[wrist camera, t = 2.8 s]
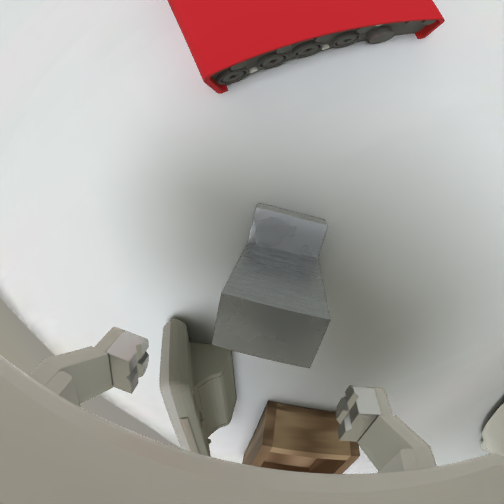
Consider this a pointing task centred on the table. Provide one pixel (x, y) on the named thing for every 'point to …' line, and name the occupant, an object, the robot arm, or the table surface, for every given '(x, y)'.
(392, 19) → the red device housing
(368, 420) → the robot arm
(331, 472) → the wooden box
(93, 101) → the table surface
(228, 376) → the digital clock
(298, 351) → the bracket
